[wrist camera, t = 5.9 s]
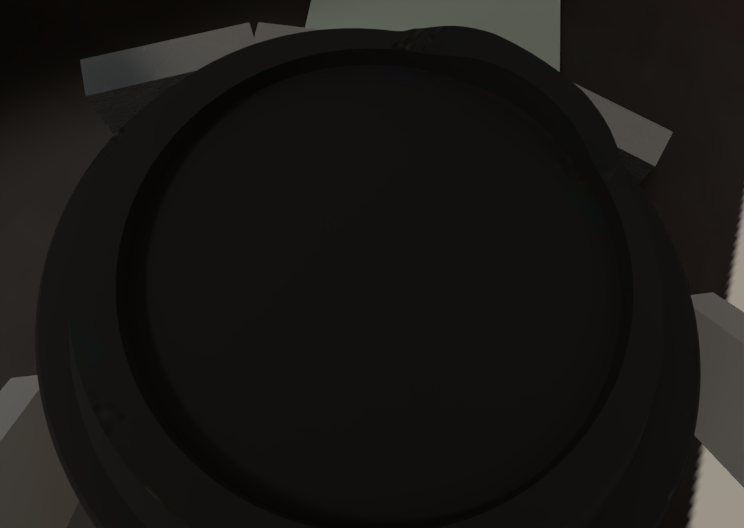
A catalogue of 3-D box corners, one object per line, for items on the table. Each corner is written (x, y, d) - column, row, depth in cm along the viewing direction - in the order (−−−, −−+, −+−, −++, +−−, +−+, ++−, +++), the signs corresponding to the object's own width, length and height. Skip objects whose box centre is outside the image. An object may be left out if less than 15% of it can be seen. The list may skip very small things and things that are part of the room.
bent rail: (125, 170, 23) (66, 93, 18) (151, 93, 24) (103, 3, 20) (609, 231, 22) (676, 169, 18) (607, 148, 24) (667, 70, 19)
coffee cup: (374, 607, 17) (436, 1163, 3) (184, 416, 19) (-267, 275, 5) (534, 392, 20) (942, 208, 6) (352, 243, 22) (338, -156, 8)
